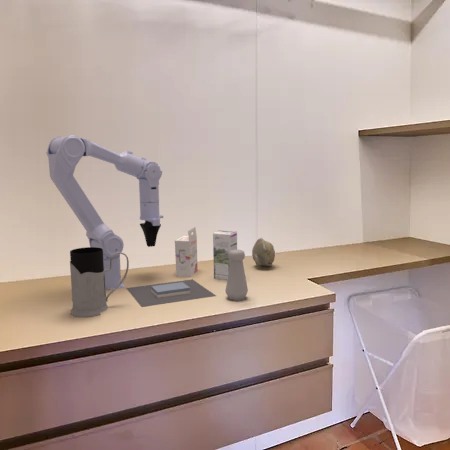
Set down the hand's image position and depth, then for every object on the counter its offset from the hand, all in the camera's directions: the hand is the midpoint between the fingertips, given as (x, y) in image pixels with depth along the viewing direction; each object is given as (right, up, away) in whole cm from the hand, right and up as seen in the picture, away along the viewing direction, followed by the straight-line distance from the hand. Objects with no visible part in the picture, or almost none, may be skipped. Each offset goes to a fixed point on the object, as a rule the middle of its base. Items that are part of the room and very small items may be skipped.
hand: (151, 246), depth 137 cm
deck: (+7, -11, -13) cm, 18 cm away
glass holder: (-8, -14, -27) cm, 31 cm away
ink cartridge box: (+11, -9, +5) cm, 15 cm away
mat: (+8, -12, -15) cm, 21 cm away
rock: (+35, -8, +13) cm, 39 cm away
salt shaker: (+26, -13, -21) cm, 35 cm away
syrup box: (+23, -10, 0) cm, 25 cm away
